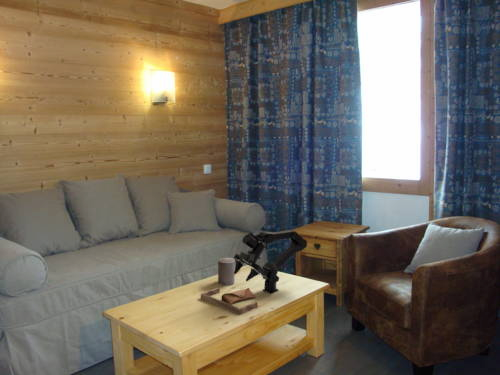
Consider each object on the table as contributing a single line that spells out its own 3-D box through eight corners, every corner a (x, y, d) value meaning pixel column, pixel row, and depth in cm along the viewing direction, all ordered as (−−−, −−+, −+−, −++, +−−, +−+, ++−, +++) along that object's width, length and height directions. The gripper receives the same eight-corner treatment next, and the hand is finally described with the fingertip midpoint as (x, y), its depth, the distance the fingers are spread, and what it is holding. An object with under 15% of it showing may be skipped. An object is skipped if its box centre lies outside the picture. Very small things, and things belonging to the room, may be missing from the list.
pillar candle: (214, 283, 266) (214, 258, 263) (225, 278, 274) (225, 254, 271) (227, 286, 260) (228, 261, 258) (238, 281, 268) (238, 257, 266)
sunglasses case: (230, 305, 234) (226, 292, 236) (223, 308, 240) (220, 295, 241) (258, 297, 245) (254, 285, 247) (251, 300, 250) (247, 288, 252)
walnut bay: (218, 291, 252) (218, 287, 252) (257, 306, 232) (257, 302, 232) (200, 298, 243) (200, 294, 243) (240, 314, 223) (240, 309, 223)
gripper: (236, 240, 246) (220, 264, 243) (261, 252, 234) (244, 278, 230) (246, 248, 254) (231, 272, 250) (271, 261, 241) (255, 286, 238)
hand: (240, 277), depth 242 cm, fingers open, 9 cm apart
